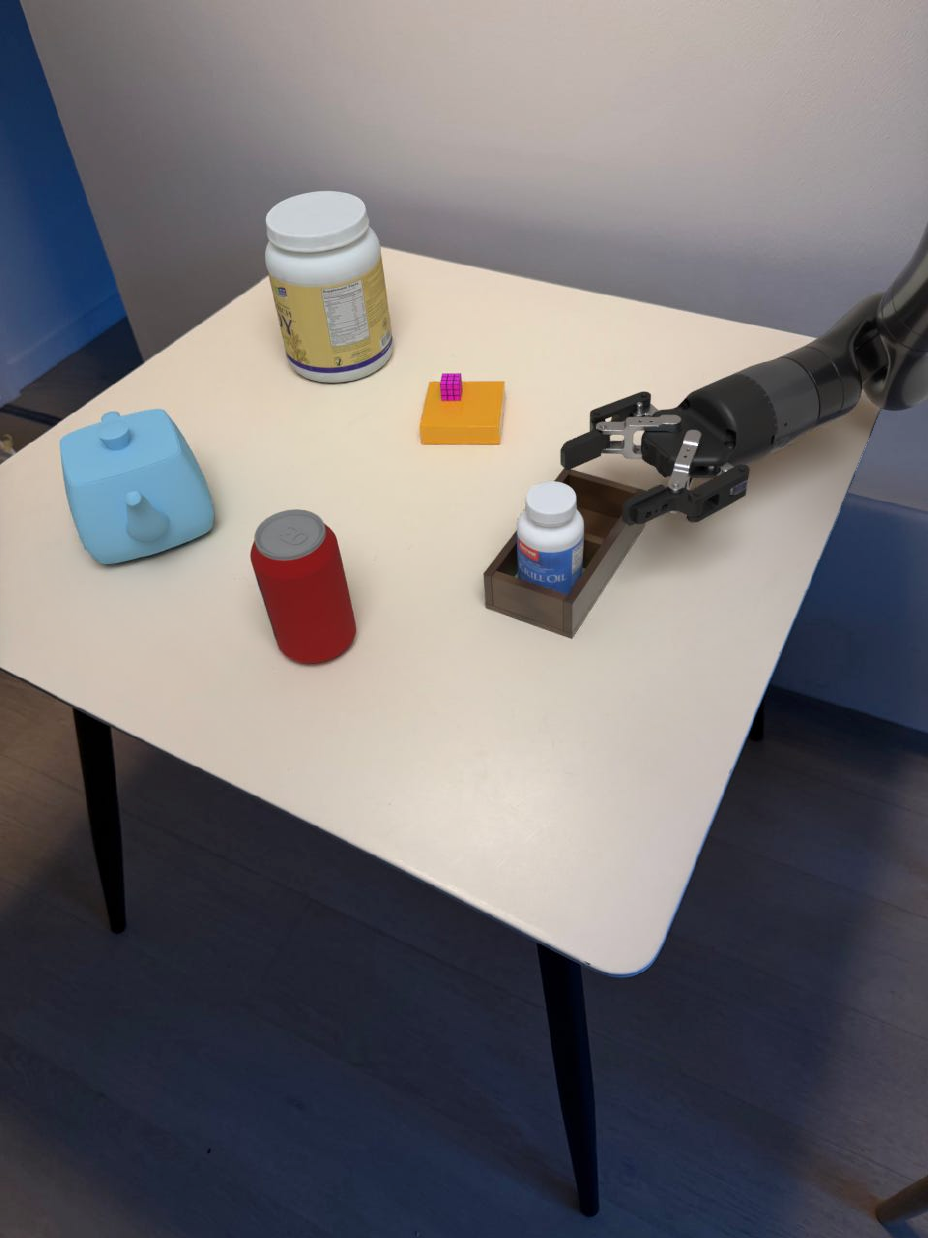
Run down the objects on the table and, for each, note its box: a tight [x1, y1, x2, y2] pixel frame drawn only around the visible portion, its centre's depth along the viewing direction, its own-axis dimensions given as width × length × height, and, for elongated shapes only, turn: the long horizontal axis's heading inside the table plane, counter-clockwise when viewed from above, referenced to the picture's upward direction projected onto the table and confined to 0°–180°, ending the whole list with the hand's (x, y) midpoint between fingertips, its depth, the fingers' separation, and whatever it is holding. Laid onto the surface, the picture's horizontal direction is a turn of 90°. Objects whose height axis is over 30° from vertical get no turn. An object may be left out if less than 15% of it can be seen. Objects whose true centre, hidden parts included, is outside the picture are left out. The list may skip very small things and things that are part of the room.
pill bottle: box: [516, 480, 584, 595], centre depth 81 cm, size 6×5×10 cm
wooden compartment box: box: [482, 467, 648, 639], centre depth 85 cm, size 8×15×4 cm, turn 150°
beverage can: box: [249, 508, 357, 664], centre depth 79 cm, size 7×7×12 cm
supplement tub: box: [264, 190, 394, 384], centre depth 107 cm, size 12×12×17 cm
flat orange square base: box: [419, 372, 507, 445], centre depth 101 cm, size 8×8×4 cm
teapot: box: [59, 408, 215, 565], centre depth 90 cm, size 12×18×12 cm
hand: (592, 486), depth 79 cm, fingers open, 8 cm apart
